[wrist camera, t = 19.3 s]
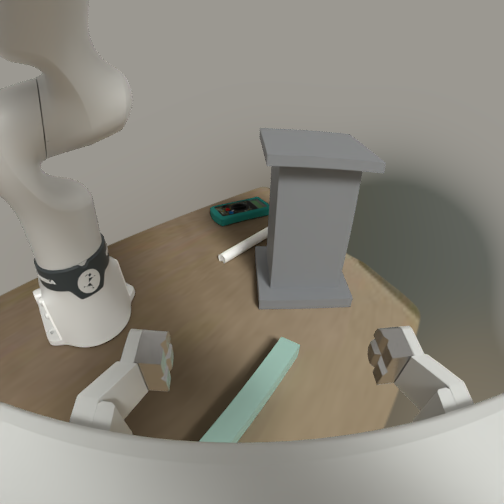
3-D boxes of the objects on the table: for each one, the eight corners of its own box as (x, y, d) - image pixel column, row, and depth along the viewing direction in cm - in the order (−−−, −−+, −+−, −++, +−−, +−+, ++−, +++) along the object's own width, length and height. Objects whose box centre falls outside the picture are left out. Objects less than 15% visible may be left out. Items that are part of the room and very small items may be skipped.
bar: (204, 483, 28) (201, 478, 26) (183, 470, 29) (179, 463, 28) (297, 357, 44) (300, 344, 43) (279, 349, 46) (281, 336, 44)
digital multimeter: (207, 216, 80) (207, 205, 78) (258, 204, 86) (258, 194, 84) (219, 228, 75) (219, 218, 73) (272, 215, 81) (273, 205, 79)
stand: (350, 306, 53) (385, 162, 38) (258, 309, 52) (267, 154, 38) (330, 254, 66) (349, 134, 51) (255, 254, 65) (259, 128, 51)
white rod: (273, 228, 75) (274, 220, 74) (280, 231, 74) (281, 223, 73) (218, 261, 64) (217, 251, 62) (225, 265, 62) (225, 255, 61)
